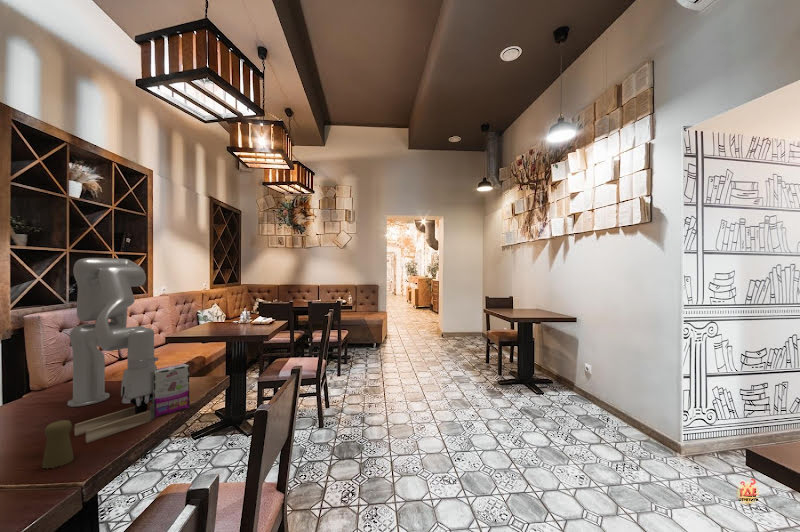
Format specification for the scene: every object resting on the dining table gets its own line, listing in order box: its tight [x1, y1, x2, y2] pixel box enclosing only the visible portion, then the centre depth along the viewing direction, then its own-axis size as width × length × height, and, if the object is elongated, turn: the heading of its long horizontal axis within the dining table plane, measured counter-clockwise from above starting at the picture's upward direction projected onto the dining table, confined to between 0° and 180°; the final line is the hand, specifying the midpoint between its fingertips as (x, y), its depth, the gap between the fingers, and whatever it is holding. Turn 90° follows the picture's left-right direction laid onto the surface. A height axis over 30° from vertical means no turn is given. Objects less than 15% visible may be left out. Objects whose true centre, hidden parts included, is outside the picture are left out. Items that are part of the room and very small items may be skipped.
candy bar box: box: [151, 363, 191, 418], centre depth 123 cm, size 11×5×16 cm, turn 137°
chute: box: [73, 399, 156, 444], centre depth 110 cm, size 10×18×5 cm, turn 150°
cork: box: [41, 419, 74, 470], centre depth 90 cm, size 6×6×11 cm
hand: (141, 415), depth 116 cm, fingers closed
